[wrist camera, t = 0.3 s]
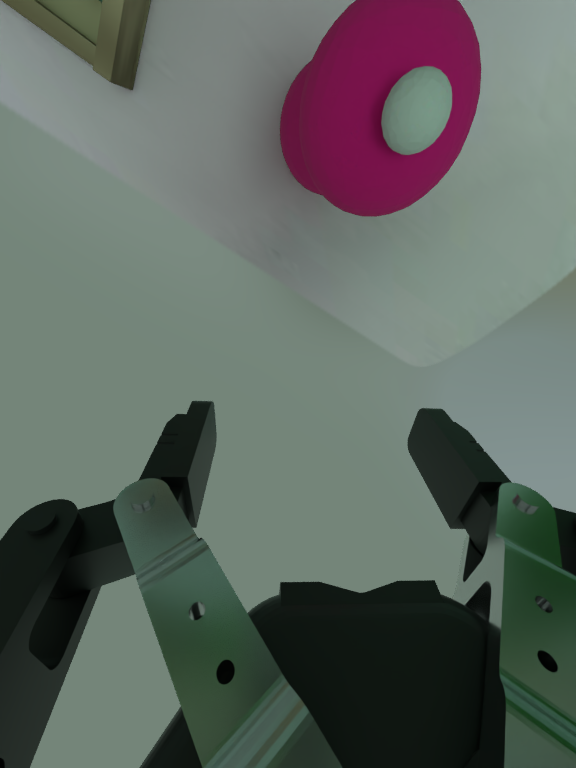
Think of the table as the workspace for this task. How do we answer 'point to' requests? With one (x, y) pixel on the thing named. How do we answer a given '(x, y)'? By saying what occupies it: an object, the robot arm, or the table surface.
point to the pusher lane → (94, 31)
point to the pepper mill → (383, 104)
